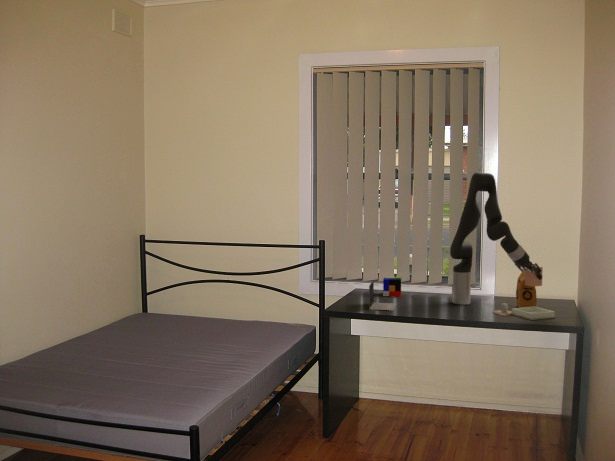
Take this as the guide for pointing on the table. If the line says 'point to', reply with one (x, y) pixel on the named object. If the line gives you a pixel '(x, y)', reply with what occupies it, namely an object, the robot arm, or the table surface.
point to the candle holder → (503, 310)
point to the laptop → (378, 305)
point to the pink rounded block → (532, 278)
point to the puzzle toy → (392, 286)
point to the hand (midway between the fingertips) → (536, 277)
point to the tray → (533, 313)
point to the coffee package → (525, 293)
